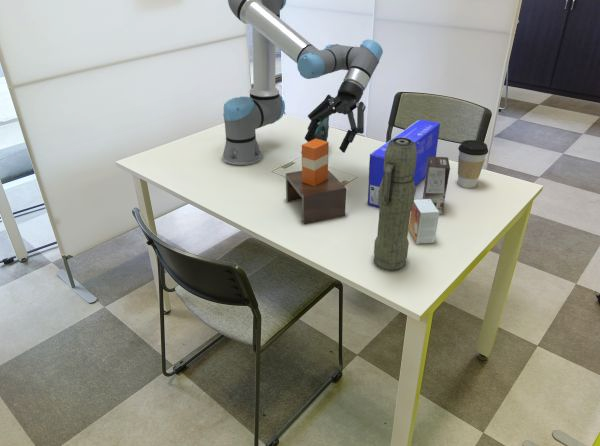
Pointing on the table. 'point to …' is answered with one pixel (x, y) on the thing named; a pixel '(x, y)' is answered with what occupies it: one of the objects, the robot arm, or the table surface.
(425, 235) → the small box
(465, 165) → the coffee cup
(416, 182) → the blue cardboard box
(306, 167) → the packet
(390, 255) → the thermos
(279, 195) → the table surface
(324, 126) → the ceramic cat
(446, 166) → the coffee box
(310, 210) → the small wooden table
